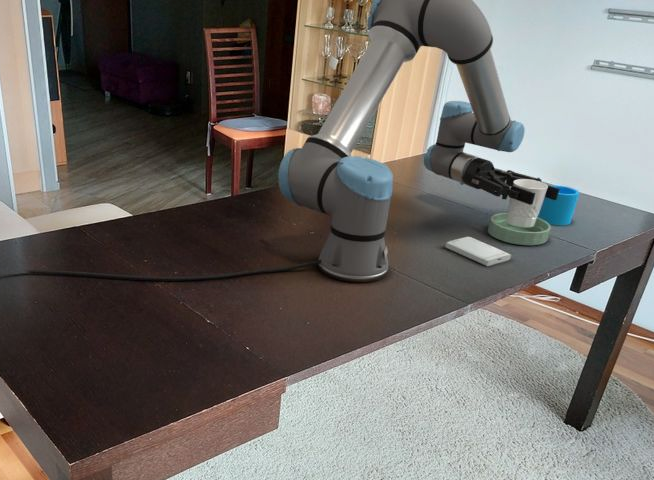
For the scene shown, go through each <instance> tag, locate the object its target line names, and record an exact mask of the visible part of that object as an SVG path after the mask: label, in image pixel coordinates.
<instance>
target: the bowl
mask: <svg viewBox="0 0 654 480" xmlns="http://www.w3.org/2000/svg"><path fill="white" fill-rule="evenodd" d="M507 214H508V212H499V213H495V214H492V215H491V216H490V218H489V223H488V226H487V233H488V234H489V235H490V236H491V237H493V238H495V239H497V240H500V241H502V242H505V243H509V244H513V245H520V246H539V245H542V244H545V243H546V242H548V240H549V237H550V234H551V230H552V227H551V226H552V224H549V223H548V222H546V221H544V220H542V219H540V218H538V217H537V219H536V222H535V225H534V226H533V227H528V228H524V227H517V226H513V225H511V224H509V223H507V221H506V218H507Z"/></svg>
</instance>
